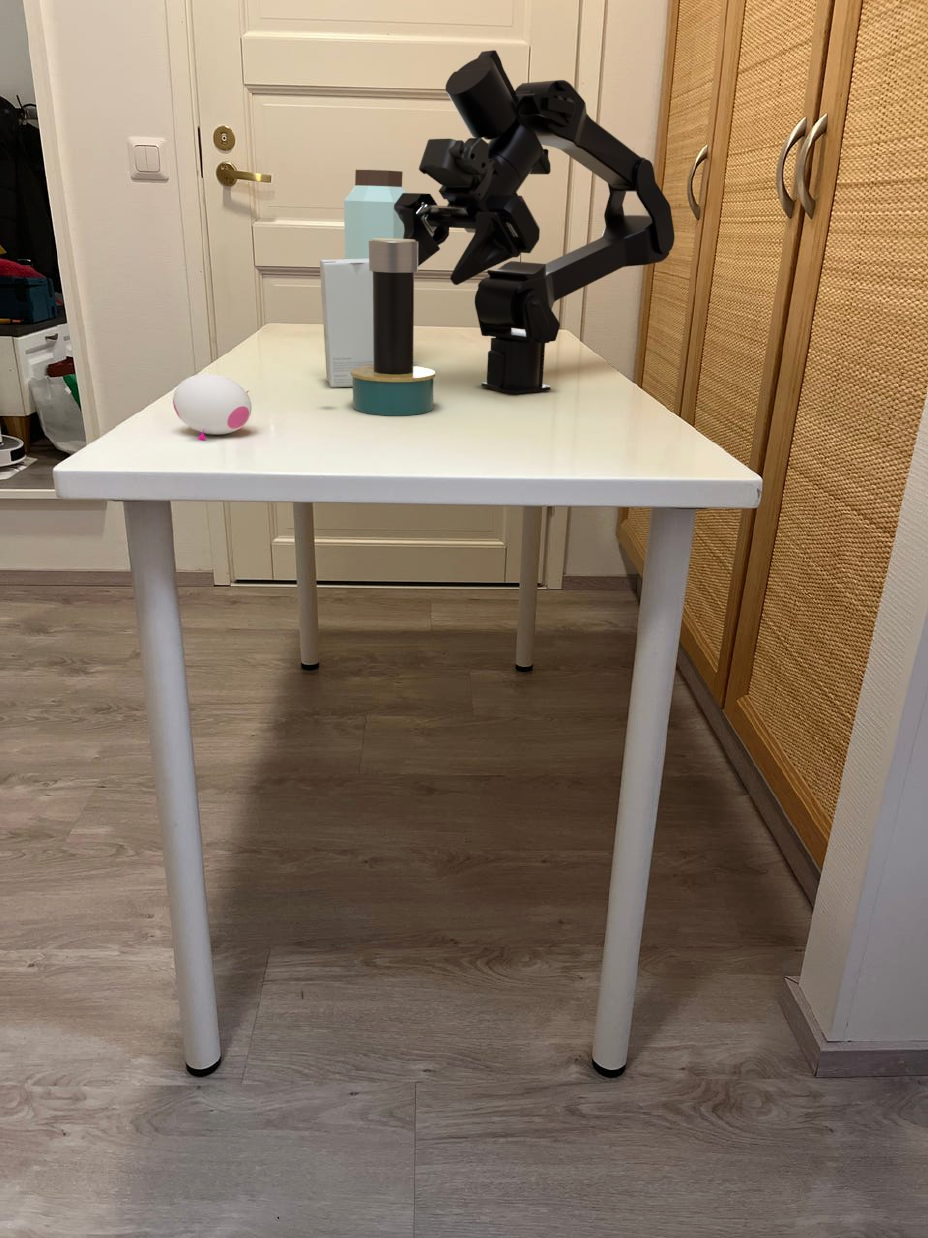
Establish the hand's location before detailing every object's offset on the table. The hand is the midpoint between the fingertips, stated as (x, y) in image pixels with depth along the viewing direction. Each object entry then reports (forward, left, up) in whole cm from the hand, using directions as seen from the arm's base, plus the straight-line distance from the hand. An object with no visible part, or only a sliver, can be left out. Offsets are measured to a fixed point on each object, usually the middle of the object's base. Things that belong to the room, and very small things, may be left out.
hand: (424, 278), depth 105 cm
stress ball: (+27, +4, -14) cm, 30 cm away
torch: (+4, +1, -10) cm, 11 cm away
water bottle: (-10, -27, -14) cm, 32 cm away
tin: (+5, +1, -14) cm, 14 cm away
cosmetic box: (+1, -14, -14) cm, 20 cm away
